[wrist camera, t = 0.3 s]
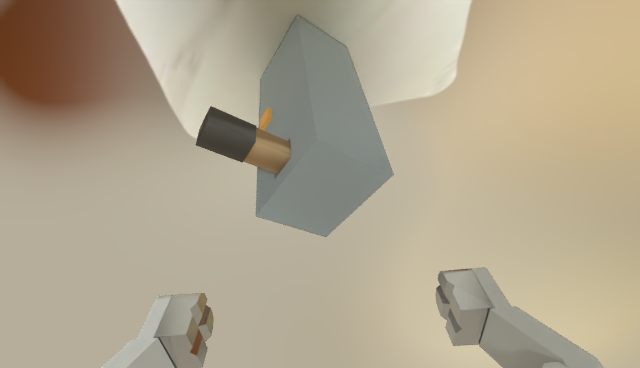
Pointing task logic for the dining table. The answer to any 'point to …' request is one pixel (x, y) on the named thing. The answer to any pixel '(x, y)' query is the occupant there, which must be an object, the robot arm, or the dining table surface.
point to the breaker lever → (243, 141)
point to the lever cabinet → (317, 134)
